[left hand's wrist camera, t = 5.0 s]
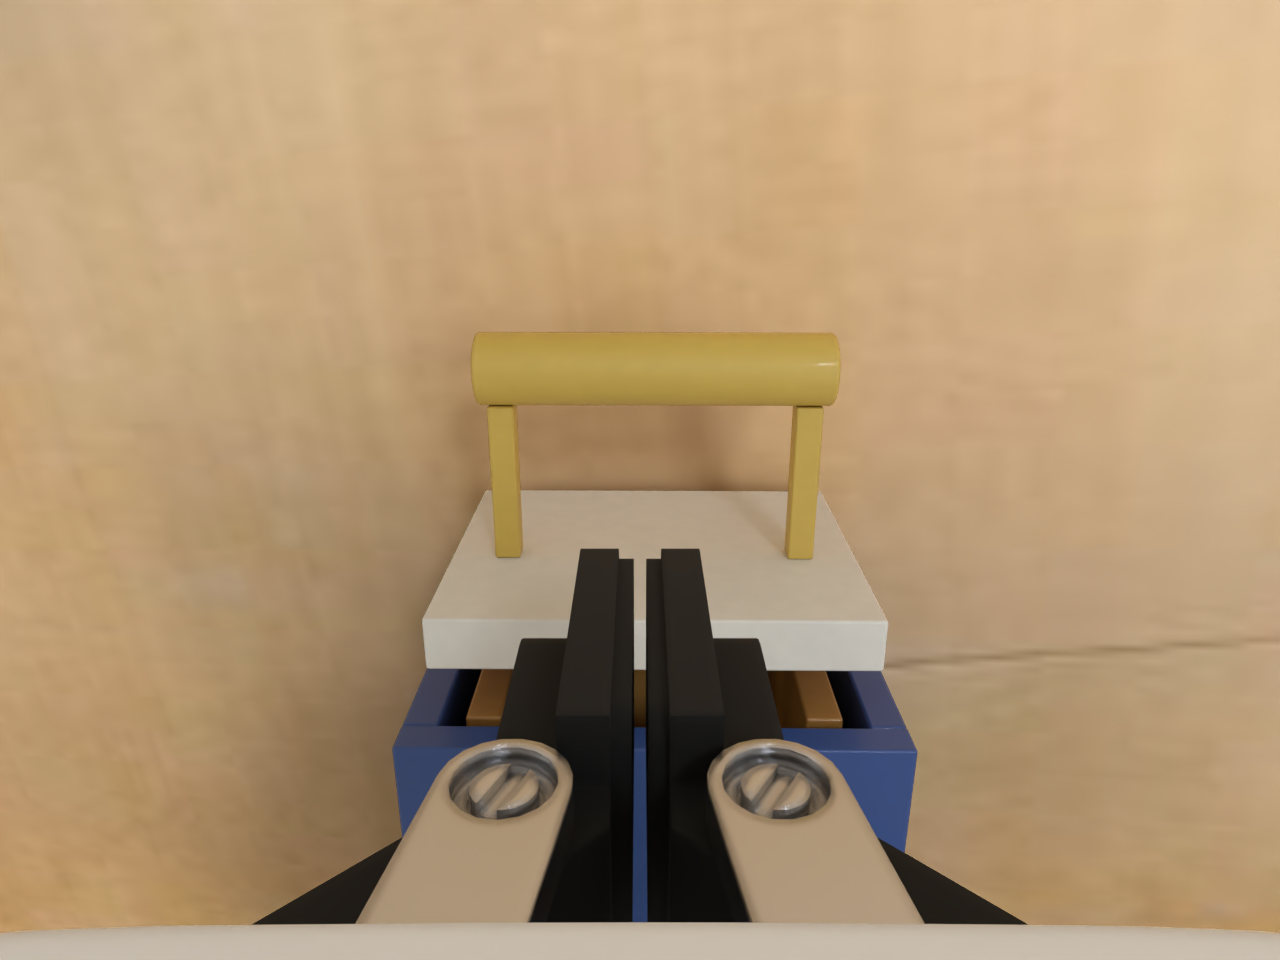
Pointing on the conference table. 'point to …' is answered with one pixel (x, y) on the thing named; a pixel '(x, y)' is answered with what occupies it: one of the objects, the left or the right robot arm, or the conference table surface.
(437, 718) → the blue storage bin
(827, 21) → the conference table surface
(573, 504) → the drawer
